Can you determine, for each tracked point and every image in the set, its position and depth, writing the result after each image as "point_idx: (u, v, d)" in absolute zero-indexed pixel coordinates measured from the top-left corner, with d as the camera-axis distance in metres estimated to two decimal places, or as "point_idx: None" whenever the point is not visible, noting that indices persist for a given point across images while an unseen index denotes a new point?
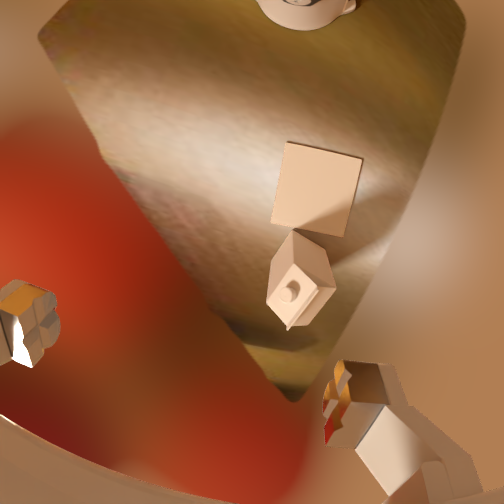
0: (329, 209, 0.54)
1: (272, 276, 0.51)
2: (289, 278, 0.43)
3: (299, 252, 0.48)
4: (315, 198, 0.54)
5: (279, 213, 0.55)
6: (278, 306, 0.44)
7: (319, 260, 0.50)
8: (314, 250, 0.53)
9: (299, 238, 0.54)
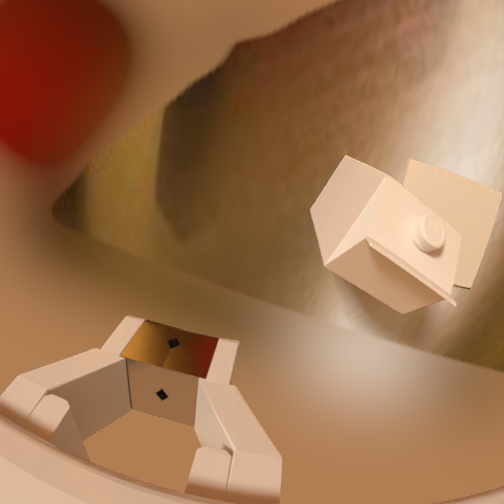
0: None
1: None
2: None
3: None
4: None
5: (422, 173, 0.31)
6: (393, 207, 0.17)
7: None
8: None
9: None
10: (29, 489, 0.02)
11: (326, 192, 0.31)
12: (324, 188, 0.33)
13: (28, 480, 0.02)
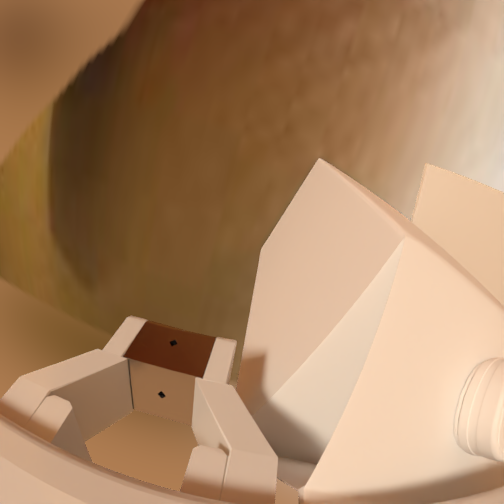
0: None
1: (373, 196, 0.11)
2: None
3: None
4: None
5: (446, 188, 0.18)
6: (420, 356, 0.05)
7: None
8: None
9: None
10: (29, 489, 0.02)
11: (283, 225, 0.18)
12: (283, 215, 0.20)
13: (28, 480, 0.02)
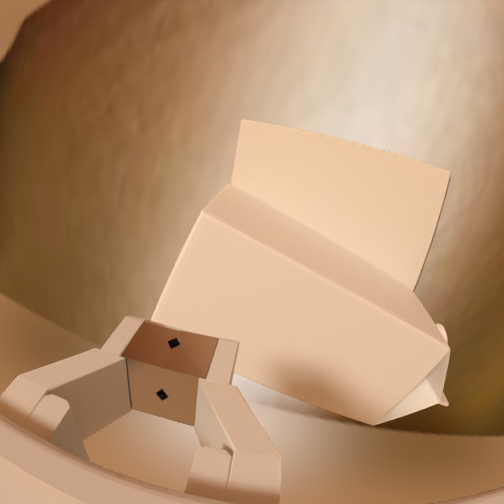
0: None
1: (365, 290, 0.15)
2: None
3: None
4: None
5: (269, 143, 0.19)
6: None
7: None
8: None
9: None
10: (29, 489, 0.02)
11: (212, 314, 0.15)
12: (176, 294, 0.15)
13: (28, 480, 0.02)
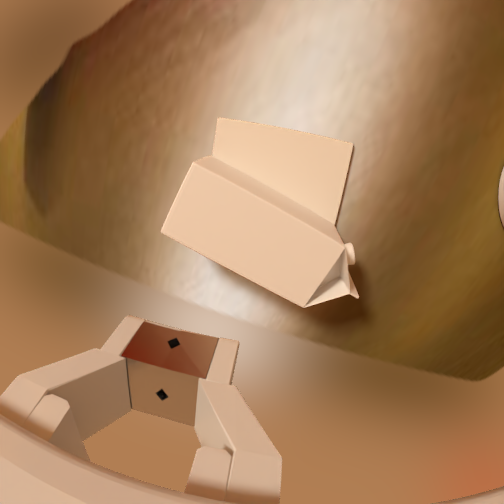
0: None
1: (284, 207, 0.28)
2: None
3: None
4: None
5: (234, 131, 0.31)
6: None
7: None
8: None
9: None
10: (29, 489, 0.02)
11: (197, 219, 0.28)
12: (178, 208, 0.27)
13: (28, 480, 0.02)
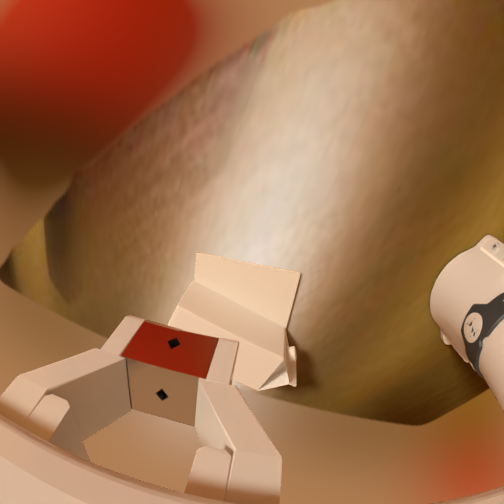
0: None
1: (242, 332, 0.40)
2: (285, 339, 0.44)
3: None
4: None
5: (209, 264, 0.44)
6: (286, 364, 0.41)
7: None
8: None
9: None
10: (29, 489, 0.02)
11: None
12: None
13: (28, 480, 0.02)
